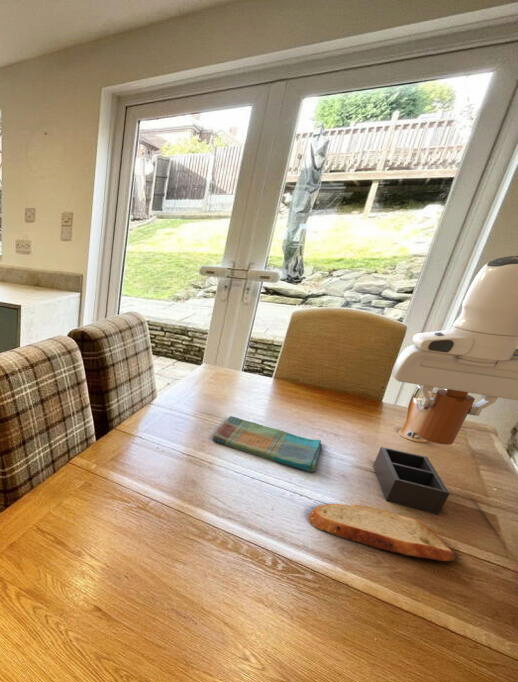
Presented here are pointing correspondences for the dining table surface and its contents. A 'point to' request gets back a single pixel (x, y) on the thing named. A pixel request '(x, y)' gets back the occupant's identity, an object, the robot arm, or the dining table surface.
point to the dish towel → (269, 443)
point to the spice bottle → (446, 416)
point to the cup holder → (410, 480)
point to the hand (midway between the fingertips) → (448, 409)
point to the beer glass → (416, 415)
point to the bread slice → (381, 530)
